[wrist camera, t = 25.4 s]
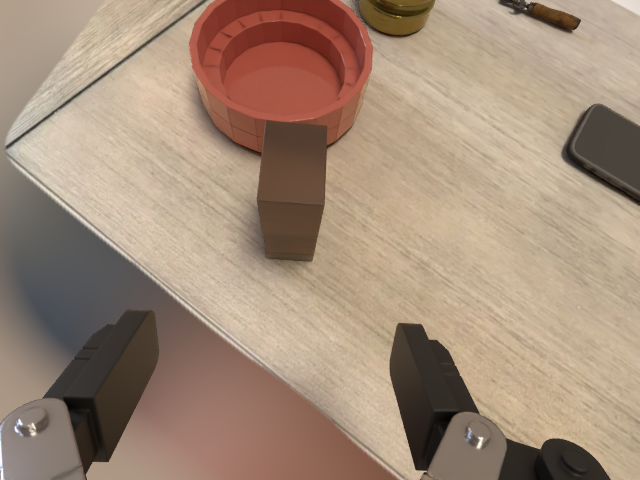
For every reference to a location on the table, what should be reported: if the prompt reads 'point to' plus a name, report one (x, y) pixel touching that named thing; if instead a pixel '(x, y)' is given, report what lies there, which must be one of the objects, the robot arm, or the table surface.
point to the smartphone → (608, 148)
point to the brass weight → (396, 15)
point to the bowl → (280, 65)
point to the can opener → (548, 13)
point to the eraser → (292, 188)
